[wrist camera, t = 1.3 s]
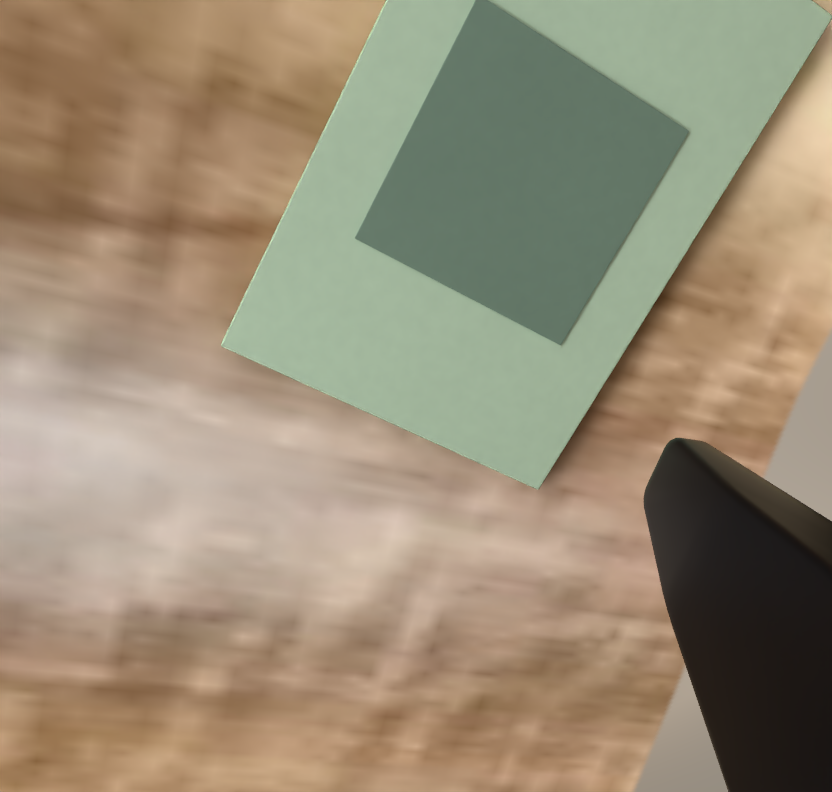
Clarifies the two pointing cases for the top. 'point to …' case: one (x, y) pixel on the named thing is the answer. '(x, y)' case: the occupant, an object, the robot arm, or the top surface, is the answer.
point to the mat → (511, 206)
